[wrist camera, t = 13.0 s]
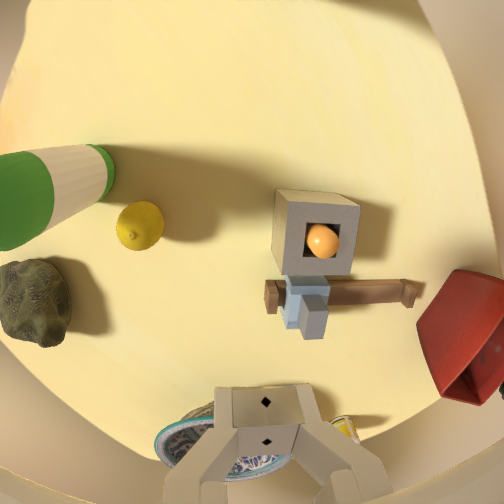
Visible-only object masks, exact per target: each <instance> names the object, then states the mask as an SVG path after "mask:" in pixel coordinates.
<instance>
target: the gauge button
mask: <svg viewBox="0 0 504 504" xmlns="http://www.w3.org/2000/svg"><path fill="white" fill-rule="evenodd" d="M305 242H306V244H307V245H308V246H309V248H310V249H311V250H312V252H313V253H314V254H315V255H316V256H317V257H318V258H322V259H326V258H330V257H332V256H333V255H334V254H335V253H336V252H337V250H338V248H339V238H338V236H337V235H336V234H335V233H334V232H333V231H332V230H331V229H329V228H328V227H327V226H326V225H325V224H324V223H309V222H307V223H306V232H305Z"/></svg>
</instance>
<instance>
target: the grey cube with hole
mask: <svg viewBox="0 0 504 504" xmlns="http://www.w3.org/2000/svg"><path fill="white" fill-rule="evenodd" d="M360 211H361V206H360V205H358V204H356V203H354V202H352V201H350V200H348V199H346V198H345V197H343V196H341V195H339V194H337V193H329V192H317V191H303V190H288V189H276V192H275V206H274V219H273V232H272V244H271V250H272V253H273V255H274V258H275V260H276V263H277V265H278V268H279V270H280V273H281V275H350V271H351V266H352V261H353V255H354V249H355V244H356V238H357V231H358V225H359V218H360ZM307 222H309V223H324V224H325V225H326V226H327V227H328V228H329V229H331V230H332V231H333V232H334V233H335V234H336V235H337V236H338V238H339V248H338V250H337V252H336V253H335V254H334V255H333V256H332V257H330V258H326V259H322V258H318V257H317V256H316V255H315V254H314V253H313V252H312V250H311V249H310V248H309V246H308V245H307V244H306V242H305V232H306V223H307Z"/></svg>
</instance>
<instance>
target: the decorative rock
mask: <svg viewBox="0 0 504 504" xmlns="http://www.w3.org/2000/svg"><path fill="white" fill-rule="evenodd" d="M70 317H71V301H70V297H69V293H68V290H67V287H66V284H65V281H64V279H63V277H62V276H61V274H60V273H59V272H58V270H57V269H56V268H55V267H54V266H52V265H51V264H49V263H47V262H44V261H41V260H36V259H28V260H25V261H23V262H18V261H13V262H10V263H8V264H6V265H2V266H1V267H0V320H1V323H2V327H3V330H4V332H5V333H6V334H7V335H9V336H10V337H12V338H14V339H19V340H23V341H30V342H34V343H38V344H39V346H41V347H43V348H47V347H52V346H53V347H54V346H57V345H58V344H61V342H62V341H63V340H64V337H65V332H66V328H67V326H68V324H69V321H70Z"/></svg>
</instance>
